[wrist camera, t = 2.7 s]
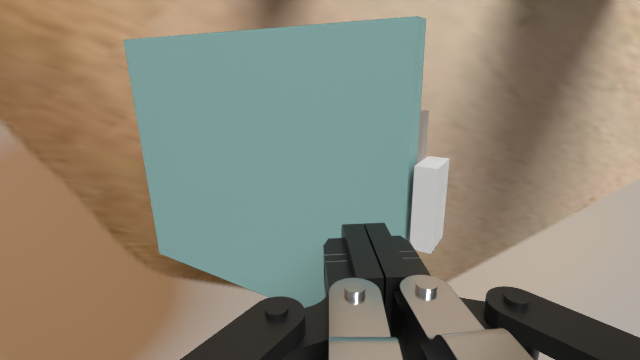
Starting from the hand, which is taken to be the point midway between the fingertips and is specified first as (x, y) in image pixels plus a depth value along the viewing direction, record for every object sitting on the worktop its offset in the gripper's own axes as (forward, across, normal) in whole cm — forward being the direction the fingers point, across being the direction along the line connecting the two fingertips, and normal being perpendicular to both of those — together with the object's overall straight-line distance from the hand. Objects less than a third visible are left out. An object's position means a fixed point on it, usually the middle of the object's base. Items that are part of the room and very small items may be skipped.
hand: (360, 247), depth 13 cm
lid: (+11, +4, 0) cm, 11 cm away
